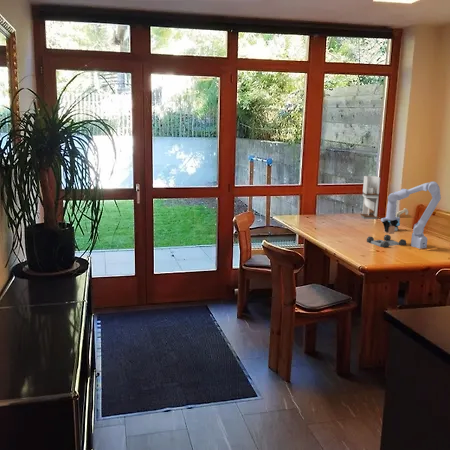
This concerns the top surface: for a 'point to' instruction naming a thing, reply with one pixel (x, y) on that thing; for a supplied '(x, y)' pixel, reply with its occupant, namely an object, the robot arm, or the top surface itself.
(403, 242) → the chassis
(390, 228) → the block
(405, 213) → the toy excavator
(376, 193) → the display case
